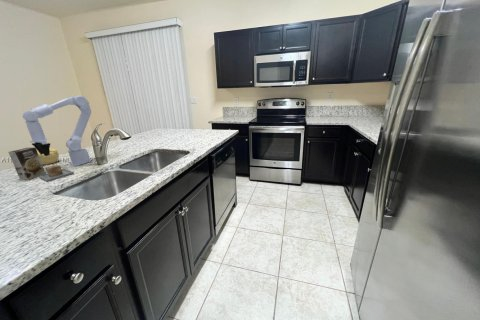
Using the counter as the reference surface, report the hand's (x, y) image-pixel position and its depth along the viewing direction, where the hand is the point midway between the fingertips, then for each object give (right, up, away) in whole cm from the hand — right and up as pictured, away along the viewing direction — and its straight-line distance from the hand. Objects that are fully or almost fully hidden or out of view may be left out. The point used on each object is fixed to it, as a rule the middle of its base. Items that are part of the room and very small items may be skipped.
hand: (45, 154), depth 120 cm
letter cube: (+13, -11, -7) cm, 19 cm away
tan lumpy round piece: (-13, -5, +17) cm, 22 cm away
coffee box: (-1, -13, -6) cm, 14 cm away
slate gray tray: (+13, -12, -6) cm, 19 cm away
